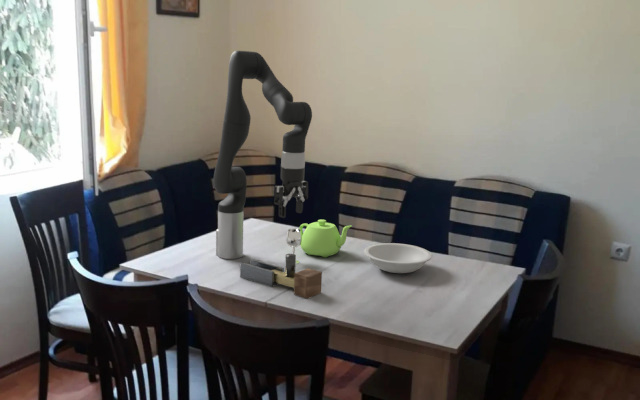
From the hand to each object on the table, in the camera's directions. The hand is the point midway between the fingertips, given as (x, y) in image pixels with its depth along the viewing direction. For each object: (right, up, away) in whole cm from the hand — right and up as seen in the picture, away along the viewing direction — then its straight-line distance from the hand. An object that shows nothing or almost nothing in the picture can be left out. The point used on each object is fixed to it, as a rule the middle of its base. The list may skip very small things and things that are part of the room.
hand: (290, 215), depth 206 cm
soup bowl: (+37, -21, +23) cm, 48 cm away
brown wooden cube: (+6, -25, -3) cm, 26 cm away
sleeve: (-10, -22, +8) cm, 25 cm away
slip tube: (0, -23, +1) cm, 23 cm away
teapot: (+11, -16, +39) cm, 44 cm away
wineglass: (0, -18, +28) cm, 33 cm away
